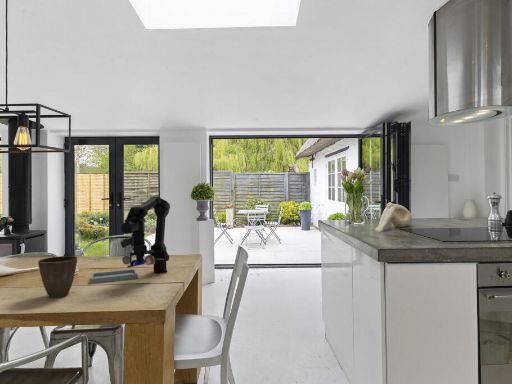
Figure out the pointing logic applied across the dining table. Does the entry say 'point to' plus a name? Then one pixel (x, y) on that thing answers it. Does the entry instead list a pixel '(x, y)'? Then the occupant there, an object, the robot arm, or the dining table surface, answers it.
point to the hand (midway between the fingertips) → (138, 262)
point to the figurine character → (126, 260)
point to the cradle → (114, 276)
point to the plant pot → (58, 274)
